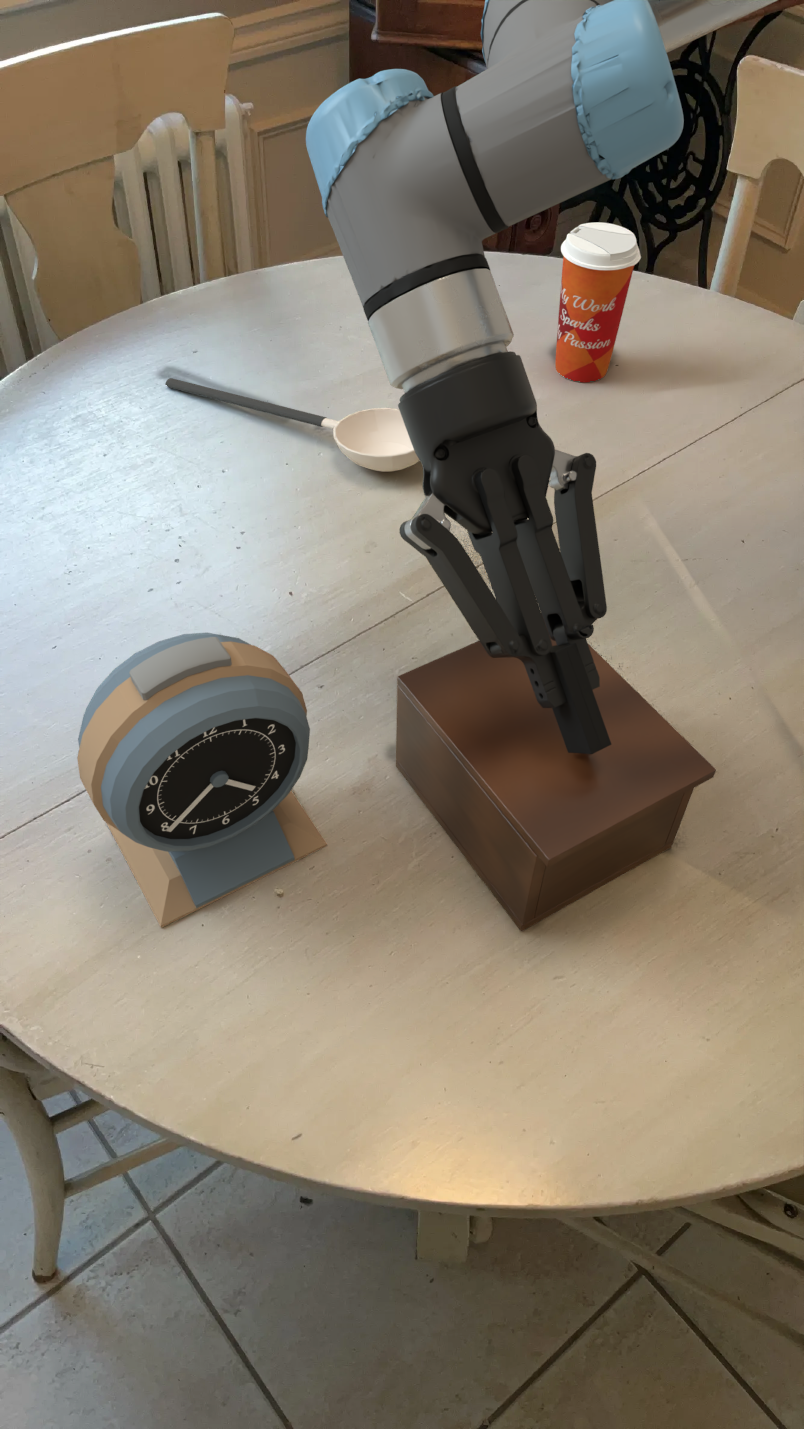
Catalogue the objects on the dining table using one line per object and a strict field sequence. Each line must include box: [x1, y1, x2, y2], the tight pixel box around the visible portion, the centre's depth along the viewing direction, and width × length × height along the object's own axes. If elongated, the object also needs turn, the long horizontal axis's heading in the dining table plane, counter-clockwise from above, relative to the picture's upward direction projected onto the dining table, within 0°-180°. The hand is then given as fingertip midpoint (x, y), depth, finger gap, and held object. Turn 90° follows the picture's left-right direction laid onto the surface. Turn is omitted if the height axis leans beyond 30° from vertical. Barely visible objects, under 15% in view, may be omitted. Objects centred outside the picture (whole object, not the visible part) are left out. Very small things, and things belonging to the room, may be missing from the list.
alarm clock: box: [76, 632, 328, 929], centre depth 66 cm, size 14×10×18 cm
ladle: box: [164, 377, 420, 472], centre depth 103 cm, size 8×31×4 cm, turn 60°
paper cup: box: [555, 221, 642, 383], centre depth 107 cm, size 8×8×14 cm
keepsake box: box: [395, 685, 695, 933], centre depth 71 cm, size 16×13×9 cm
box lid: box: [396, 616, 717, 867], centre depth 67 cm, size 17×13×1 cm
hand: (589, 748), depth 64 cm, fingers closed
